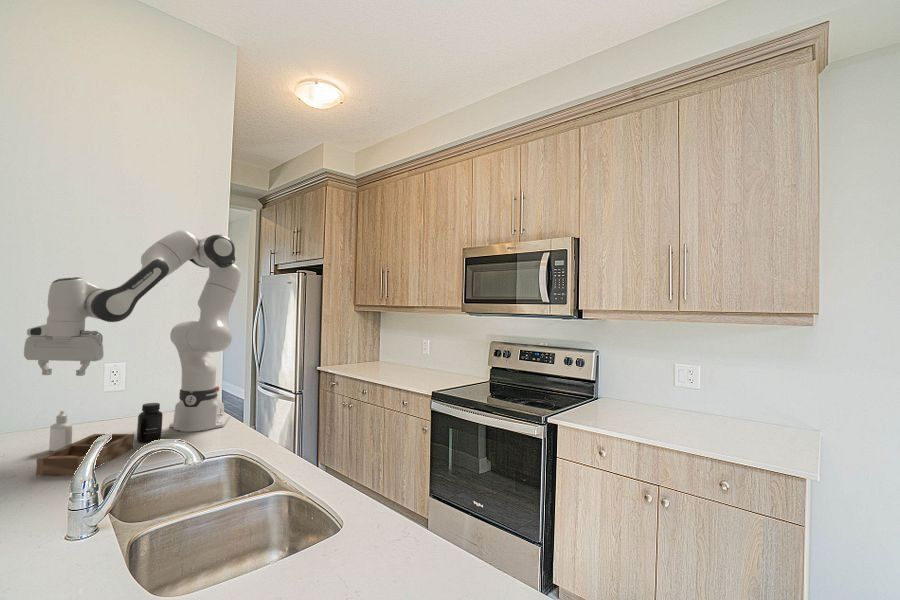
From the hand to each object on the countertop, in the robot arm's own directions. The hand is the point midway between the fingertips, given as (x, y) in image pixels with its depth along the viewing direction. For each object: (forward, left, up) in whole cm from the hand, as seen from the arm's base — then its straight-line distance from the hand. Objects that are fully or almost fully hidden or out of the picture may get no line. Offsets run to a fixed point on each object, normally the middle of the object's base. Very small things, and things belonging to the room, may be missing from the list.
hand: (63, 375), depth 133 cm
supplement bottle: (-10, +20, -23) cm, 32 cm away
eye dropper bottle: (0, 0, -23) cm, 23 cm away
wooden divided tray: (+9, +14, -23) cm, 28 cm away
